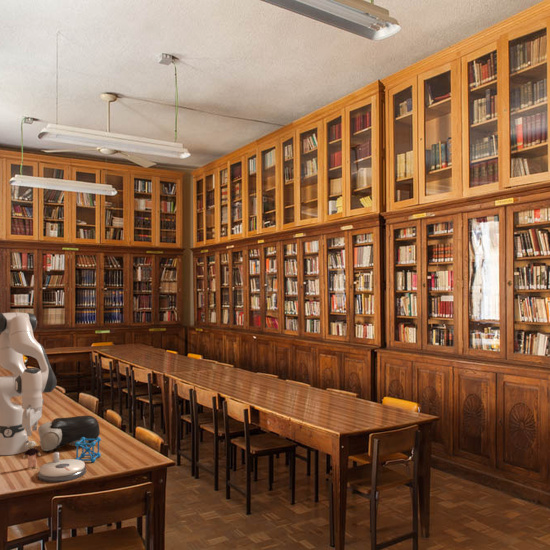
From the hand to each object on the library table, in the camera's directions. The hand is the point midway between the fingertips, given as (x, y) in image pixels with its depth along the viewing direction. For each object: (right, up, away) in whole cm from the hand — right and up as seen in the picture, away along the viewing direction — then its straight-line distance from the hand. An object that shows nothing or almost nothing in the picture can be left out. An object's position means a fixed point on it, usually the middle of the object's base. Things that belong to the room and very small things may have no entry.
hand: (31, 433), depth 245 cm
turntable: (+17, -14, -8) cm, 24 cm away
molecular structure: (+22, -17, +12) cm, 30 cm away
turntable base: (+17, -16, -8) cm, 25 cm away
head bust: (+5, -18, +33) cm, 38 cm away
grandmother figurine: (0, -17, 0) cm, 17 cm away
